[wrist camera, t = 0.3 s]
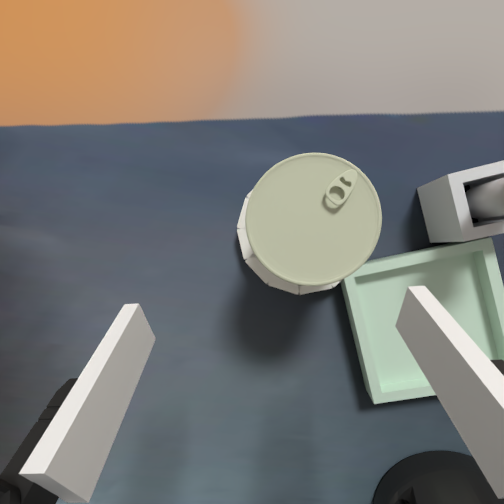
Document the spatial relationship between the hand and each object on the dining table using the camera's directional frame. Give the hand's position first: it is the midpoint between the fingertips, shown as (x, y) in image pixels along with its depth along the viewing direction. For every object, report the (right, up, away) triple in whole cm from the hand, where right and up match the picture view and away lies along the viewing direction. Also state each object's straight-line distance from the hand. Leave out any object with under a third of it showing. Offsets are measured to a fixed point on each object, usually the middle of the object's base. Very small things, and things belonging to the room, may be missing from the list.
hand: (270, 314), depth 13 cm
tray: (+17, -4, +14) cm, 22 cm away
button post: (+20, +8, +13) cm, 26 cm away
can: (+5, +6, +16) cm, 17 cm away
